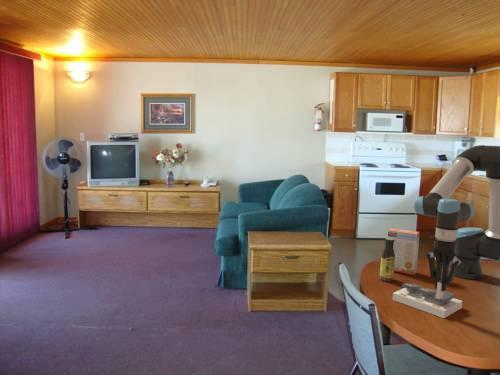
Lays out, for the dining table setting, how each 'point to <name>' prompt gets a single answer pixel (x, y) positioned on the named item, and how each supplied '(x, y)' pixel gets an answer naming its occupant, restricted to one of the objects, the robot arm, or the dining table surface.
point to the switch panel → (427, 302)
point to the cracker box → (405, 250)
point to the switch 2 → (444, 297)
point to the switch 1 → (411, 286)
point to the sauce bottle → (387, 261)
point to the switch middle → (426, 291)
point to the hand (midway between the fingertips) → (439, 297)
